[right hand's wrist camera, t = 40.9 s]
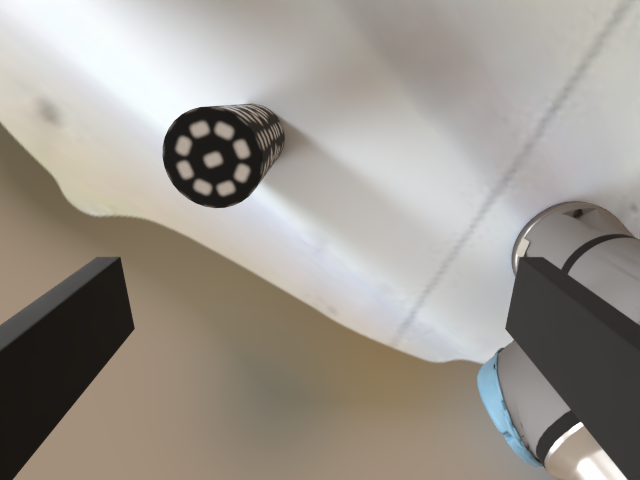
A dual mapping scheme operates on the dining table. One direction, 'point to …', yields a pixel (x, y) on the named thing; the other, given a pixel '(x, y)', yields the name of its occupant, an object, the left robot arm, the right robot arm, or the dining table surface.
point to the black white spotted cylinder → (222, 152)
